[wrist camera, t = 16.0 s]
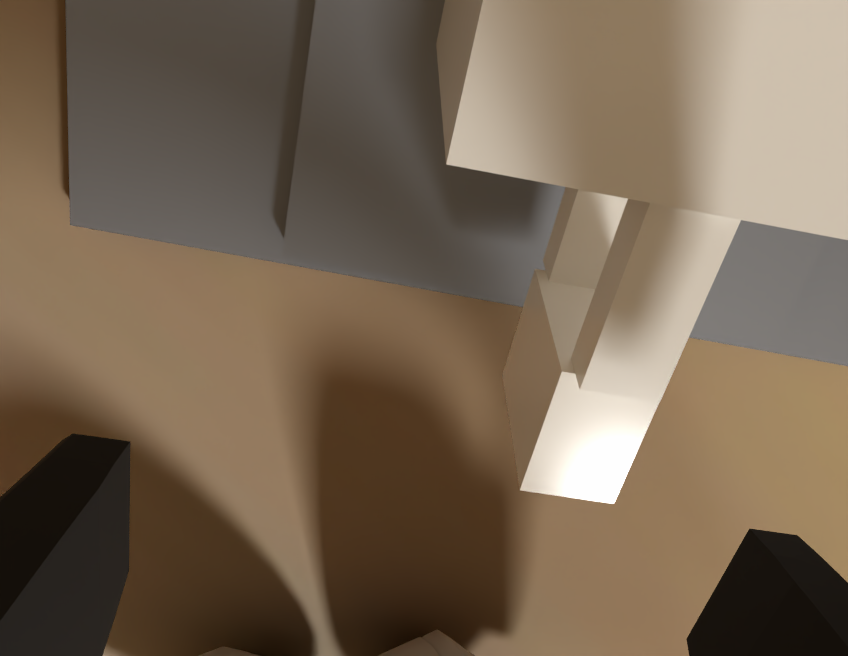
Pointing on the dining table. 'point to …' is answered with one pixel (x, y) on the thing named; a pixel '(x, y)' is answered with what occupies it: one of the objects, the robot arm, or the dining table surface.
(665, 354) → the beige upright block
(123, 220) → the board
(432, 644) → the headphones
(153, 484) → the dining table surface
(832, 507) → the dining table surface
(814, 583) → the robot arm
